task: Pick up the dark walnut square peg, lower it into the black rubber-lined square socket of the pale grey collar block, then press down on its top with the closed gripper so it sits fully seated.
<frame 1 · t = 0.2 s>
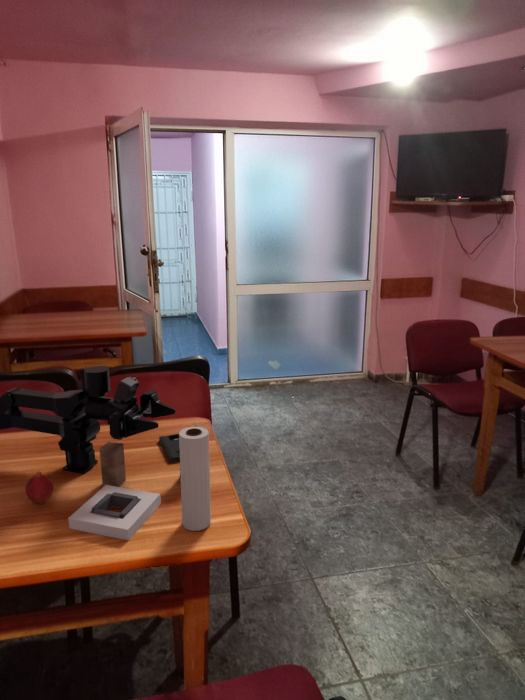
hand: (167, 418, 124), 17 cm above the table, tool horizontal, fingers open, 9 cm apart
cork: (191, 478, 130), on the table
walnut peg: (114, 483, 127), on the table
collar block: (116, 515, 113), on the table
onion: (41, 504, 118), on the table
paper towel roll: (198, 522, 111), on the table
vhs tape: (178, 451, 145), on the table
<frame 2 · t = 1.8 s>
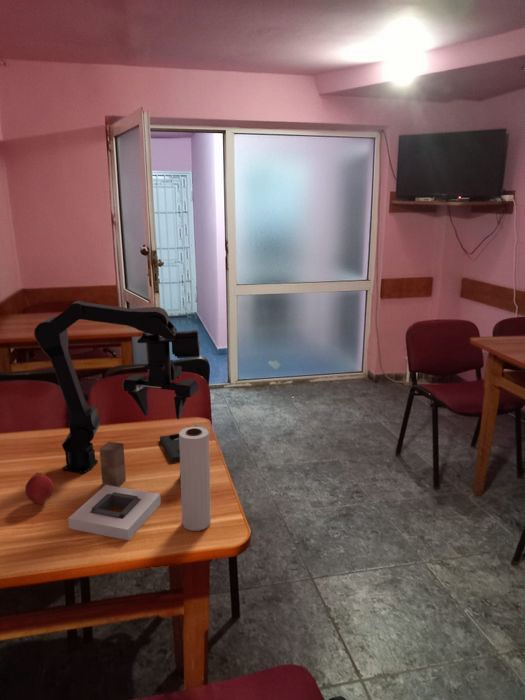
hand: (162, 416, 133), 13 cm above the table, tool pointing down, fingers open, 9 cm apart
nothing on the table moved.
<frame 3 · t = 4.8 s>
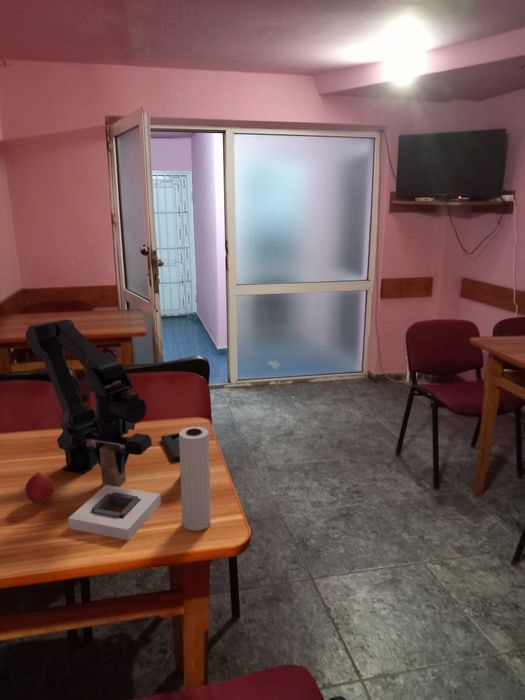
hand: (113, 472, 126), 3 cm above the table, tool pointing down, fingers closed on walnut peg, 4 cm apart
walnut peg: (114, 483, 127), on the table, touching gripper
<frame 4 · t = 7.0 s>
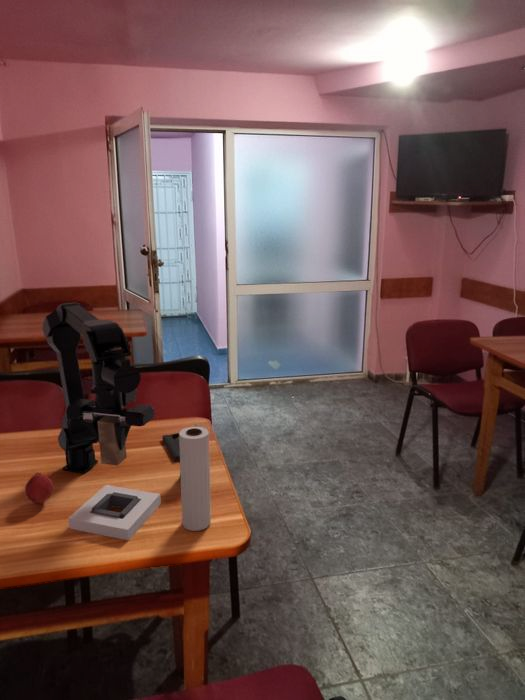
hand: (113, 448, 115), 14 cm above the table, tool pointing down, fingers closed on walnut peg, 4 cm apart
walnut peg: (114, 460, 116), point 11 cm above the table, touching gripper
when the fingers open (4 cm above the table, at t = 9.3 s): walnut peg drops 2 cm, resting in collar block.
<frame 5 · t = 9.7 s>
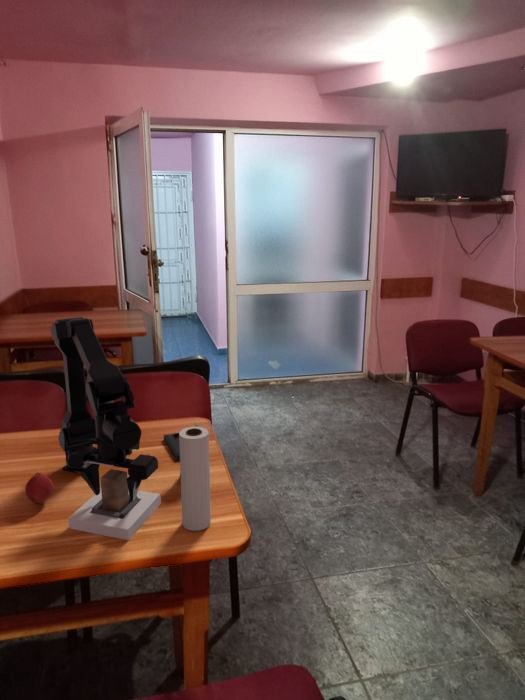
hand: (115, 497, 112), 4 cm above the table, tool pointing down, fingers open, 8 cm apart
walnut peg: (116, 515, 113), resting in collar block
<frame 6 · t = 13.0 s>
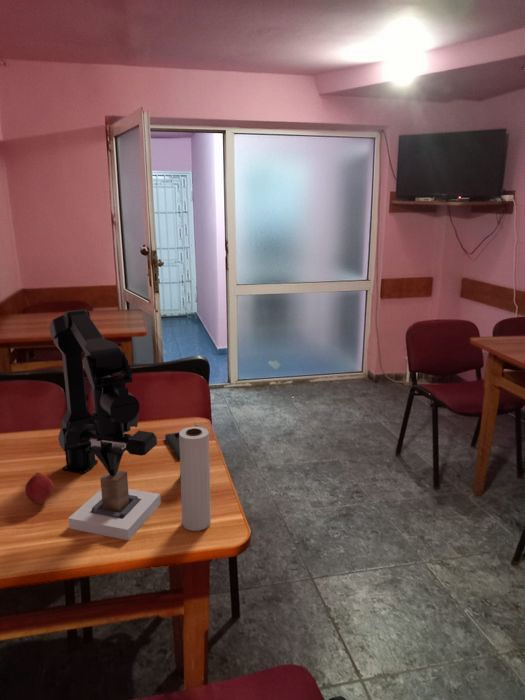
hand: (113, 474, 111), 10 cm above the table, tool pointing down, fingers closed, pressing on walnut peg
walnut peg: (116, 515, 113), resting in collar block, touching gripper
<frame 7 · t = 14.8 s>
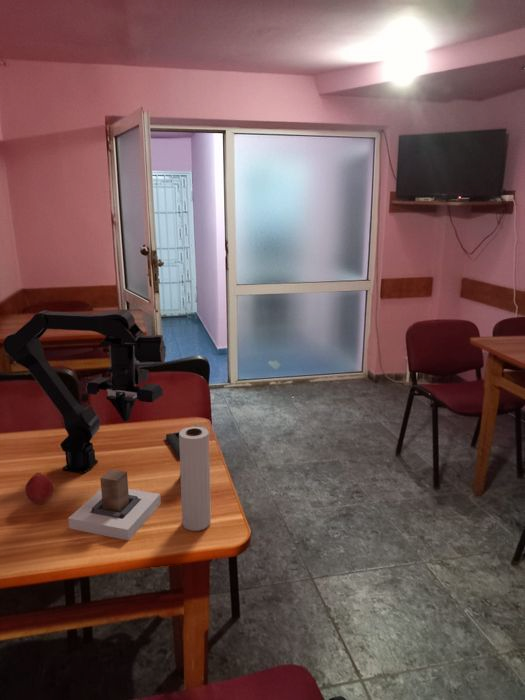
hand: (126, 421, 131), 13 cm above the table, tool pointing down, fingers closed
walnut peg: (116, 515, 113), resting in collar block
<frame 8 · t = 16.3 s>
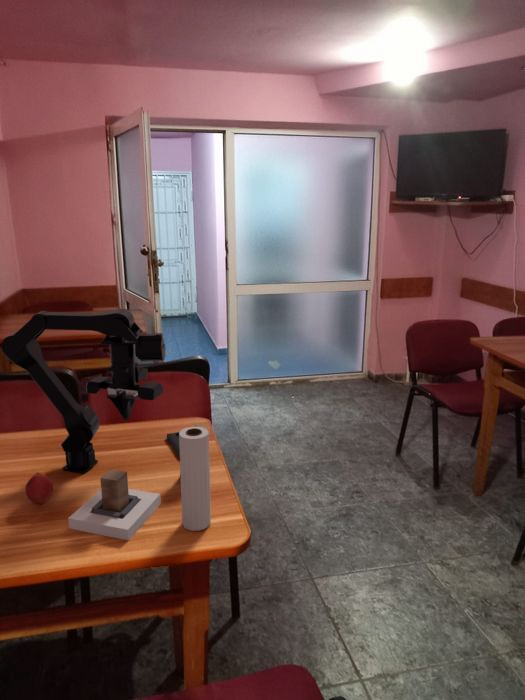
hand: (126, 419, 132), 13 cm above the table, tool pointing down, fingers closed
at the end: walnut peg 0.0 cm off-centre on the collar block, point 0.0 cm above the collar block's base; walnut peg tilted 0°; the gripper is holding nothing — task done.
